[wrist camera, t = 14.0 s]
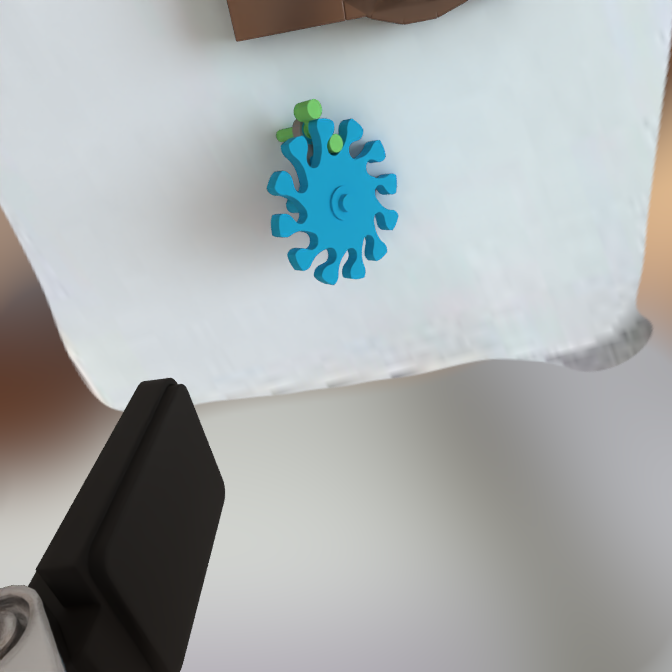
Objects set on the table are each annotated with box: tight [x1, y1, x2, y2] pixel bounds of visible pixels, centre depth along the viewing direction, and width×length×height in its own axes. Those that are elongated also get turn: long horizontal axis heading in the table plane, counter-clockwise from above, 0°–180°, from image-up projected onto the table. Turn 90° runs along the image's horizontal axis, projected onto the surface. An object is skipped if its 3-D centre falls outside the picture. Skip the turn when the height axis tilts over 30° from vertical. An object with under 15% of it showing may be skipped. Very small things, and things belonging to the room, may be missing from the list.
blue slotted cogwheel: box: [267, 99, 398, 285], centre depth 34 cm, size 11×6×10 cm
